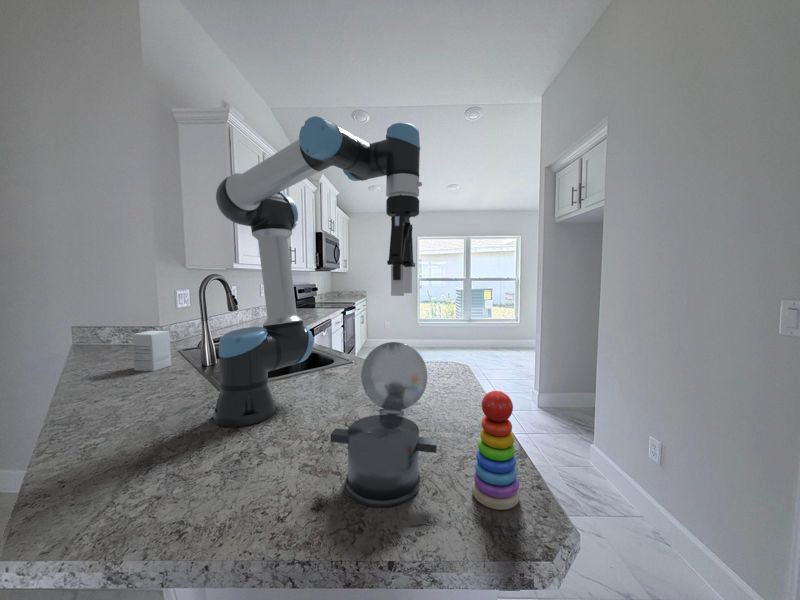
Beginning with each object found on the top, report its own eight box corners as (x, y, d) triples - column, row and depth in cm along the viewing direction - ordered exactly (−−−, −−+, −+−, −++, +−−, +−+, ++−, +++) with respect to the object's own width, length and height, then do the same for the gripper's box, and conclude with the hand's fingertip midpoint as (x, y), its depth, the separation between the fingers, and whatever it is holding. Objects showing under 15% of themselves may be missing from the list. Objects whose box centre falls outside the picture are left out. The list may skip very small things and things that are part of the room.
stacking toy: (466, 482, 60) (468, 383, 59) (507, 480, 61) (510, 382, 59) (480, 514, 52) (482, 400, 51) (528, 511, 53) (531, 398, 52)
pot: (318, 499, 55) (317, 442, 55) (346, 456, 69) (345, 410, 68) (432, 515, 52) (433, 455, 51) (439, 466, 65) (439, 418, 64)
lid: (361, 340, 69) (366, 340, 73) (358, 413, 67) (363, 409, 71) (427, 343, 66) (429, 343, 70) (425, 419, 65) (427, 414, 68)
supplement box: (153, 364, 139) (151, 330, 138) (172, 365, 138) (170, 330, 137) (133, 370, 130) (131, 333, 129) (152, 371, 129) (151, 334, 128)
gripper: (411, 182, 62) (410, 297, 64) (424, 207, 85) (423, 292, 86) (373, 184, 63) (373, 296, 65) (396, 208, 86) (396, 291, 88)
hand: (402, 294), depth 76 cm, fingers open, 11 cm apart
